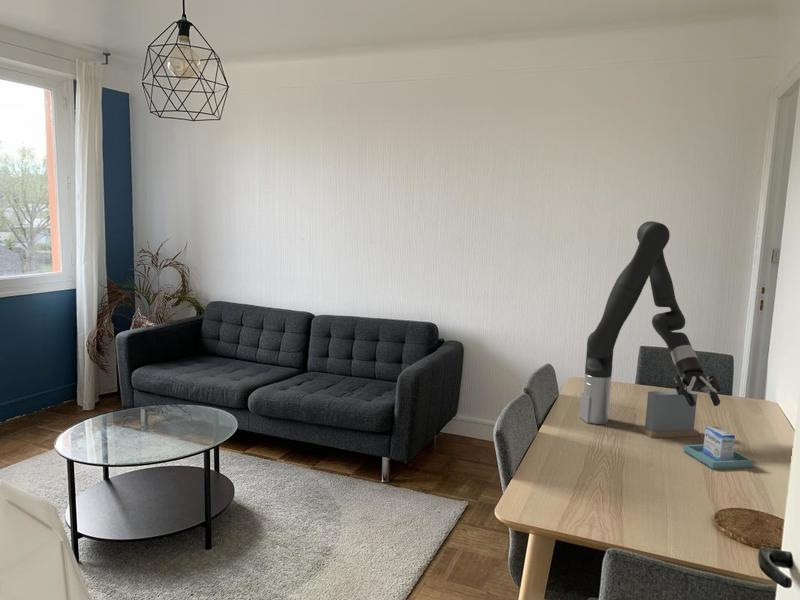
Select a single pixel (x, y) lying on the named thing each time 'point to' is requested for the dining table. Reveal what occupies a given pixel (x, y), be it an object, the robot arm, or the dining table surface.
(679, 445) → the dining table surface
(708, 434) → the medicine box
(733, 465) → the teal tray
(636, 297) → the robot arm
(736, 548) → the dining table surface
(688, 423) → the slate unit
